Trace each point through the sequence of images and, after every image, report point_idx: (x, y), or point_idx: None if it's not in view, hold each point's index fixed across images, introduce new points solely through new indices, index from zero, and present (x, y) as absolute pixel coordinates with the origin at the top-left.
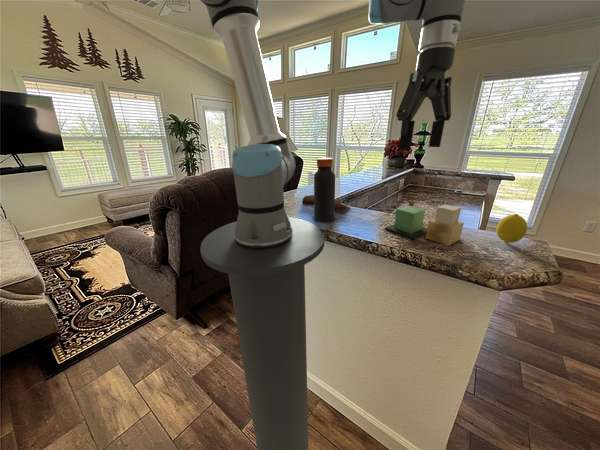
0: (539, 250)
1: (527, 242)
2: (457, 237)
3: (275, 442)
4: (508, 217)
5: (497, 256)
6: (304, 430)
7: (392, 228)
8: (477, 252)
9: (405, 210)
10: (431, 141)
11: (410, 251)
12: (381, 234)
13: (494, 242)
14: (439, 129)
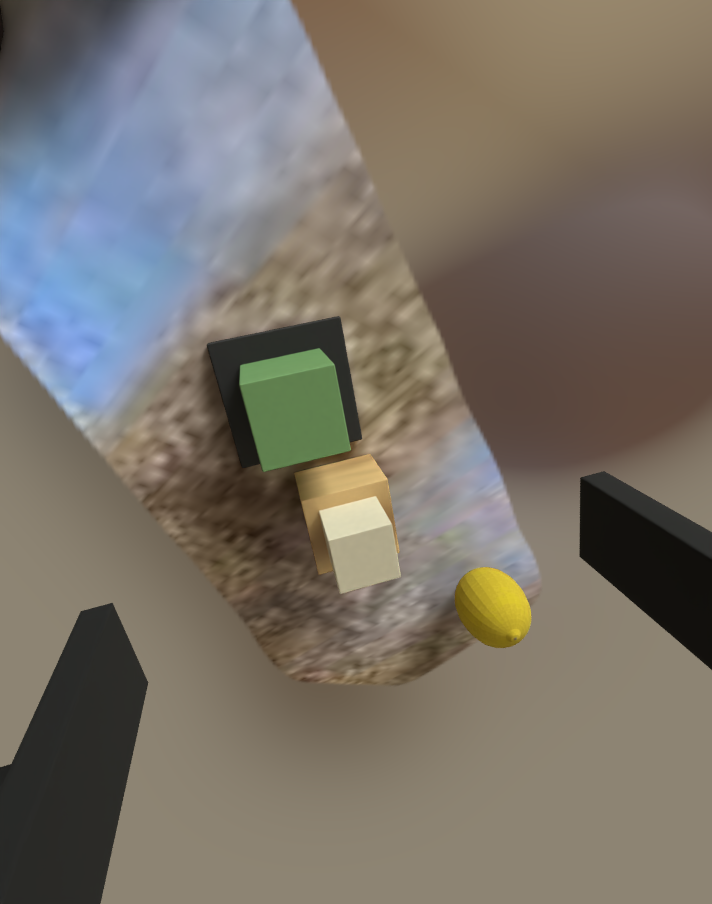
0: None
1: (522, 588)
2: None
3: None
4: (494, 625)
5: (370, 617)
6: None
7: (228, 367)
8: None
9: (261, 423)
10: (614, 516)
11: (165, 528)
12: (156, 380)
13: (451, 563)
14: (706, 645)
